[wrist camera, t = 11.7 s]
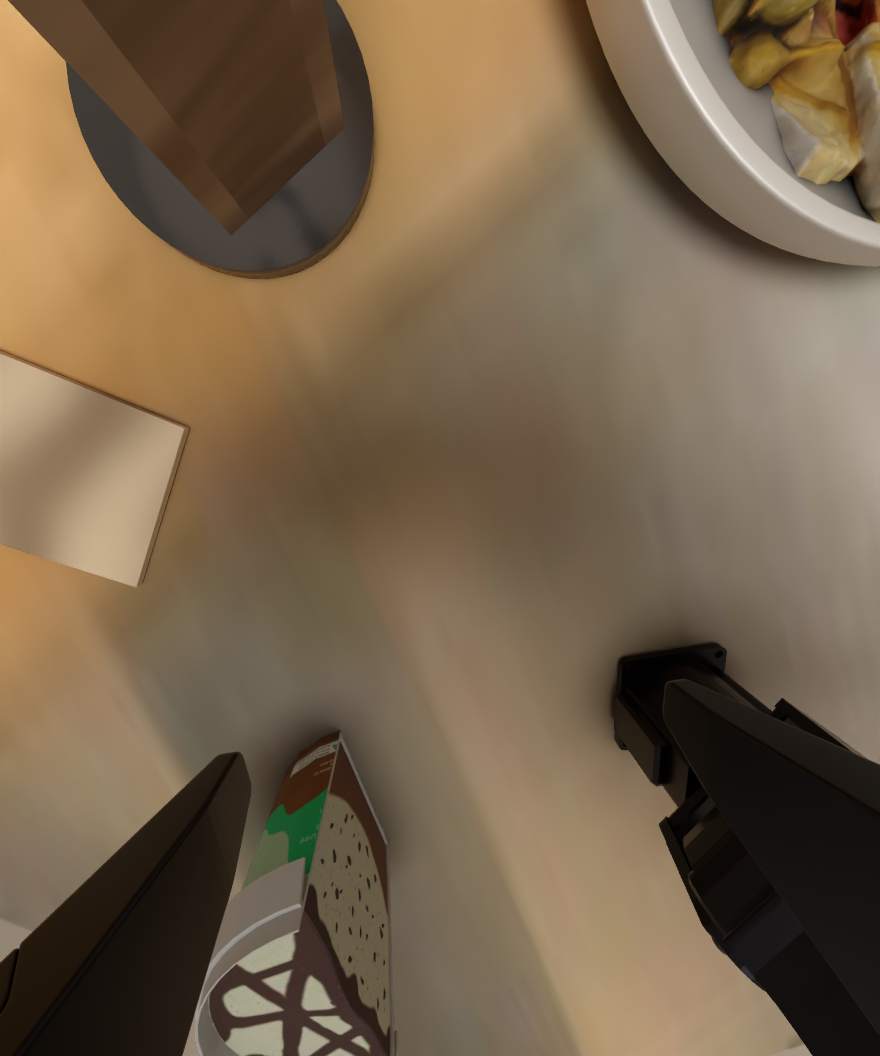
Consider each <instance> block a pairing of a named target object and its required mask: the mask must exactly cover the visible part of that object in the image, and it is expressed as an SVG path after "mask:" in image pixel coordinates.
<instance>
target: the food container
mask: <svg viewBox="0 0 880 1056" xmlns="http://www.w3.org/2000/svg"><path fill="white" fill-rule="evenodd" d="M195 1019H196V1024H195V1039H196V1045H197V1048H198V1051H199V1054H200V1056H397V1045H398V1032H397V1031H394V1017H393V981H392V945H391V909H390V873H389V842H388V840H387V837H386V835H385V833H384V830H383V828H382V826H381V823H380V821H379V819H378V816H377V814H376V812H375V809H374V807H373V805H372V803H371V800H370V798H369V796H368V793H367V791H366V789H365V786H364V784H363V782H362V779H361V777H360V775H359V772H358V770H357V768H356V765H355V763H354V761H353V758H352V756H351V754H350V752H349V749H348V747H347V745H346V742H345V740H344V738H343V735H342V733H341V731H338V732H335V733H333V734H330V735H328V736H325V737H322V738H321V739H319V740H318V741H316V742H315V743H313V744H312V745H311V746H309V747H308V748H306V749H305V750H303V751H302V752H301V753H300V754H299V755H298V757H297V758H296V759H295V761H294V762H293V763H292V765H291V766H290V767H289V768H288V770H287V772H286V774H285V777H284V779H283V782H282V785H281V787H280V790H279V793H278V795H277V798H276V800H275V803H274V806H273V808H272V811H271V814H270V816H269V819H268V822H267V824H266V827H265V829H264V832H263V835H262V837H261V840H260V843H259V845H258V848H257V850H256V853H255V856H254V858H253V861H252V864H251V866H250V869H249V871H248V874H247V877H246V879H245V882H244V885H243V887H242V890H241V891H240V892H239V893H238V894H237V895H236V896H235V897H234V898H233V899H232V900H231V901H230V902H229V903H228V904H227V907H226V910H225V913H224V917H223V920H222V923H221V927H220V930H219V933H218V937H217V940H216V944H215V947H214V950H213V954H212V957H211V960H210V964H209V967H208V971H207V974H206V977H205V981H204V984H203V987H202V991H201V994H200V998H199V1001H198V1004H197V1008H196V1011H195Z"/></svg>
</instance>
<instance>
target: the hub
mask: <svg viewBox="0 0 880 1056" xmlns="http://www.w3.org/2000/svg"><path fill="white" fill-rule="evenodd" d="M324 6H325V13H326V19H327V25H328V31H329V37H330V43H331V49H332V55H333V61H334V68H335V74H336V80H337V86H338V92H339V98H340V104H341V110H342V116H343V123H344V129H343V130H342V131H341V132H340V133H339V134H338V135H337V136H336V137H335V138H334V139H333V140H332V141H331V142H330V143H328V144H327V145H326V146H325V147H324V148H323V149H322V150H321V151H320V152H319V153H318V154H317V155H316V156H315V157H314V158H313V159H312V160H311V161H309V162H308V163H307V164H306V165H305V166H304V167H303V168H302V169H301V170H300V171H299V172H298V173H297V174H296V175H295V176H294V177H293V178H292V179H291V180H289V181H288V182H287V183H286V184H285V185H284V186H283V187H282V188H281V189H280V190H279V191H278V192H277V193H276V194H275V195H274V196H273V197H272V198H270V199H269V200H268V201H267V202H266V203H265V204H264V205H263V206H262V207H261V208H260V209H259V210H258V211H257V212H256V213H255V214H254V215H253V216H252V217H250V218H249V219H248V220H247V221H246V222H245V223H244V224H243V225H242V226H241V227H240V228H239V229H238V230H237V231H236V232H235V233H234V234H233V235H232V236H231V235H230V234H229V233H228V232H227V231H226V230H225V229H224V227H223V226H222V225H221V224H220V223H219V222H218V221H217V220H216V219H215V218H214V217H213V216H212V215H211V214H210V213H209V212H208V211H207V210H206V208H205V207H204V206H203V205H202V204H201V203H200V202H199V201H198V200H197V199H196V198H195V197H194V196H193V195H192V194H191V193H190V192H189V191H188V190H187V188H186V187H185V186H184V185H183V184H182V183H181V182H180V181H179V180H178V179H177V178H176V177H175V176H174V175H173V174H172V173H171V172H170V171H169V169H168V168H167V167H166V166H165V165H164V164H163V163H162V162H161V161H160V160H159V159H158V158H157V157H156V156H155V155H154V154H153V153H152V152H151V151H150V149H149V148H148V147H147V146H146V145H145V144H144V143H143V142H142V141H141V140H140V139H139V138H138V137H137V136H136V135H135V134H134V133H133V132H132V130H131V129H130V128H129V127H128V126H127V125H126V124H125V123H124V122H123V121H122V120H121V119H120V118H119V117H118V116H117V115H116V114H115V113H114V112H113V110H112V109H111V108H110V107H109V106H108V105H107V104H106V103H105V102H104V101H103V100H102V99H101V98H100V97H99V96H98V95H97V94H96V93H95V92H94V90H93V89H92V88H91V87H90V86H89V85H88V84H87V83H86V82H85V81H84V80H83V79H82V78H81V77H80V76H79V75H78V74H77V73H76V71H75V70H74V69H73V68H72V67H71V66H70V65H69V64H68V63H67V62H66V65H67V74H68V83H69V90H70V94H71V98H72V103H73V107H74V112H75V115H76V118H77V121H78V124H79V126H80V129H81V132H82V135H83V138H84V140H85V142H86V144H87V146H88V149H89V151H90V153H91V155H92V157H93V159H94V161H95V163H96V164H97V166H98V168H99V169H100V171H101V173H102V175H103V176H104V178H105V180H106V181H107V182H108V184H109V185H110V187H111V188H112V189H113V191H114V192H115V193H116V195H117V196H118V198H119V199H120V200H121V201H122V202H123V203H124V205H125V206H126V207H127V208H128V209H129V210H130V211H131V212H132V213H133V215H134V216H135V217H136V218H138V219H139V220H140V221H141V222H142V223H143V224H144V225H145V226H146V227H147V228H148V229H150V230H151V231H152V232H153V233H155V234H156V235H157V236H159V237H160V238H161V239H163V240H164V241H166V242H167V243H168V244H170V245H171V246H173V247H174V248H175V249H177V250H178V251H179V252H181V253H182V254H184V255H185V256H187V257H189V258H191V259H192V260H194V261H196V262H198V263H199V264H201V265H204V266H206V267H208V268H211V269H213V270H216V271H218V272H222V273H225V274H229V275H233V276H238V277H245V278H275V277H282V276H286V275H290V274H293V273H296V272H299V271H301V270H304V269H306V268H308V267H310V266H312V265H314V264H315V263H317V262H318V261H320V260H321V259H323V258H324V257H326V256H327V255H328V254H329V253H330V252H331V251H332V250H333V249H335V248H336V247H337V246H338V245H339V244H340V242H341V241H342V240H343V239H344V237H345V236H346V235H347V234H348V232H349V231H350V229H351V228H352V226H353V224H354V223H355V221H356V219H357V218H358V216H359V213H360V211H361V209H362V206H363V204H364V202H365V199H366V196H367V192H368V189H369V185H370V181H371V175H372V169H373V161H374V128H373V111H372V99H371V92H370V86H369V80H368V76H367V72H366V68H365V65H364V61H363V57H362V54H361V51H360V49H359V46H358V43H357V41H356V38H355V36H354V33H353V31H352V29H351V27H350V25H349V23H348V21H347V19H346V17H345V15H344V13H343V11H342V9H341V7H340V6H339V4H338V3H337V1H336V0H324Z"/></svg>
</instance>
